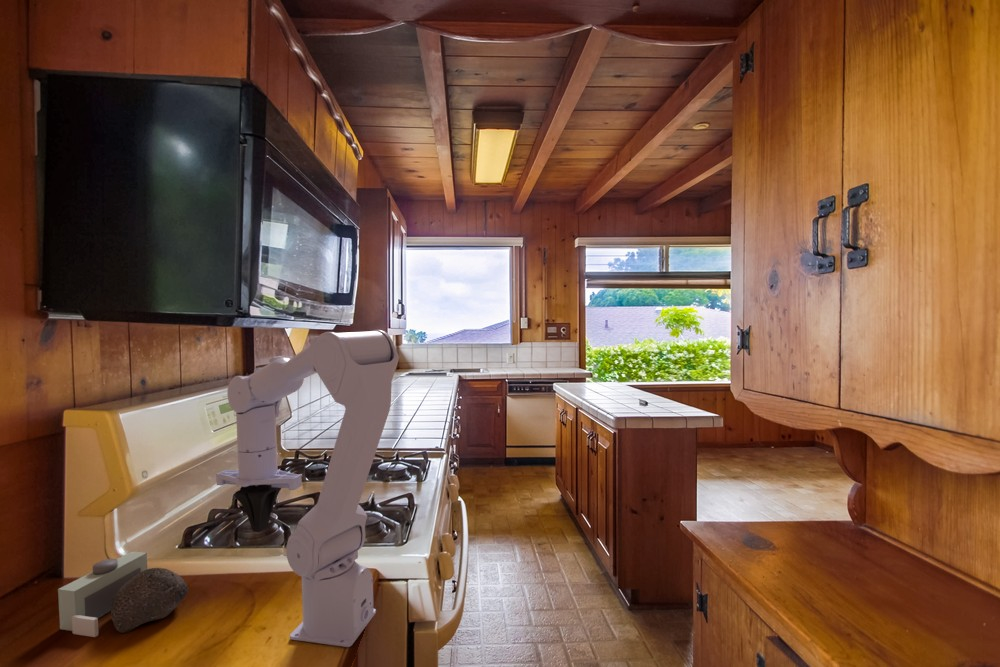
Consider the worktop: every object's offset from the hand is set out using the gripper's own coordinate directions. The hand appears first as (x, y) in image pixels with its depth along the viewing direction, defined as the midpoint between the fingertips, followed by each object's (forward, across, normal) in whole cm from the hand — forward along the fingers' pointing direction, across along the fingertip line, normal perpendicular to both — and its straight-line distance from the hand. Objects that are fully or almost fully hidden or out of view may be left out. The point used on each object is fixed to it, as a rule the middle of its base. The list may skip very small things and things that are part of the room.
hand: (260, 529), depth 77 cm
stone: (+11, -13, -8) cm, 19 cm away
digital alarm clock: (+10, -20, -8) cm, 24 cm away
